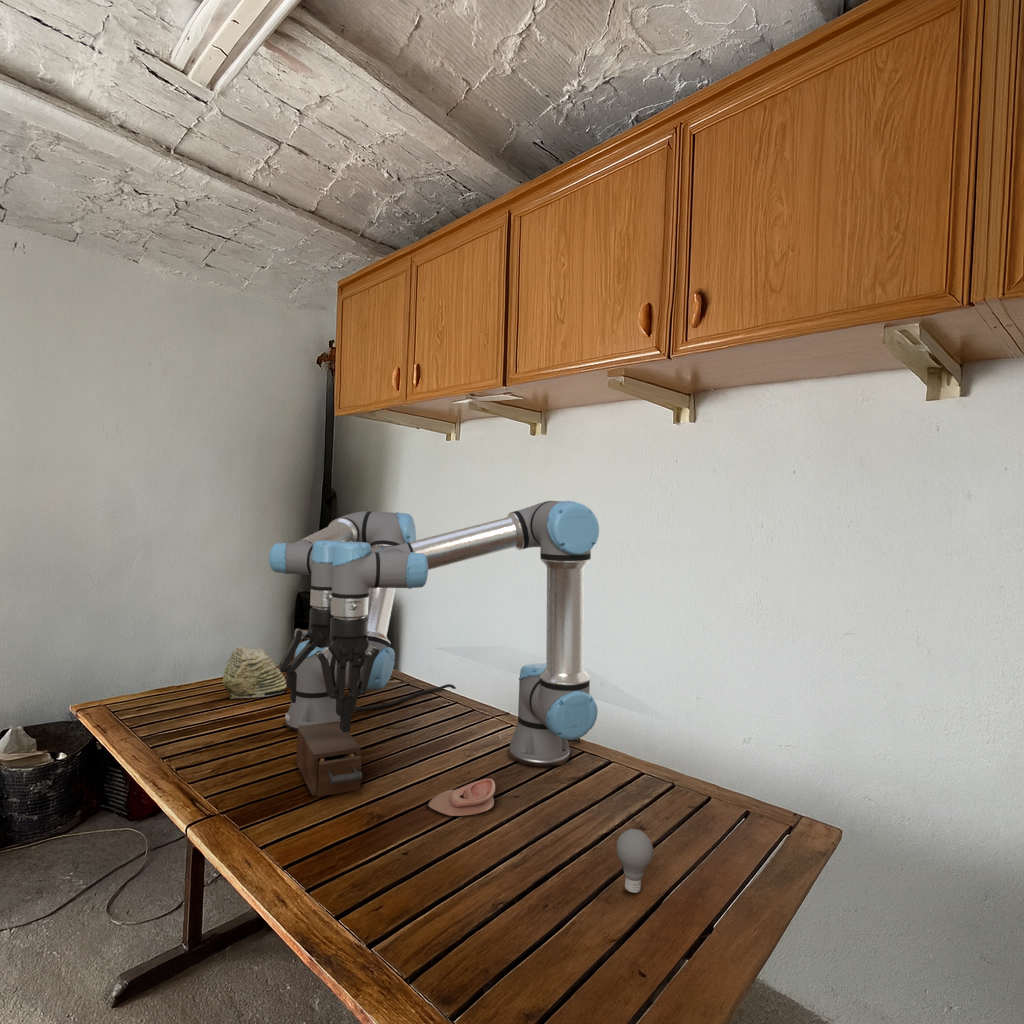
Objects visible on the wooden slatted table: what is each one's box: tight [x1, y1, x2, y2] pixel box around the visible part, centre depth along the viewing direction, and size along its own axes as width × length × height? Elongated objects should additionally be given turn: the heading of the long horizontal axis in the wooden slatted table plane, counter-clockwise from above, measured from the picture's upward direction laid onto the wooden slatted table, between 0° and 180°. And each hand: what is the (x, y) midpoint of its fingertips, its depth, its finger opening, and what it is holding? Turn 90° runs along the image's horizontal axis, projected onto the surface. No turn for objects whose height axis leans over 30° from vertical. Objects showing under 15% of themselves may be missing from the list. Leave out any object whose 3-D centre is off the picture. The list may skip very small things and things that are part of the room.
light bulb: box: [615, 828, 654, 894], centre depth 106 cm, size 6×6×10 cm
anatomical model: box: [427, 778, 496, 817], centre depth 133 cm, size 13×4×12 cm
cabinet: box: [295, 721, 362, 797], centre depth 144 cm, size 18×10×9 cm, turn 29°
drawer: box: [316, 753, 363, 798], centre depth 139 cm, size 22×9×7 cm, turn 29°
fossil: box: [222, 646, 288, 699], centre depth 198 cm, size 9×18×15 cm, turn 132°
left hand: (323, 697), depth 148 cm, fingers open, 13 cm apart
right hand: (345, 729), depth 131 cm, fingers closed
